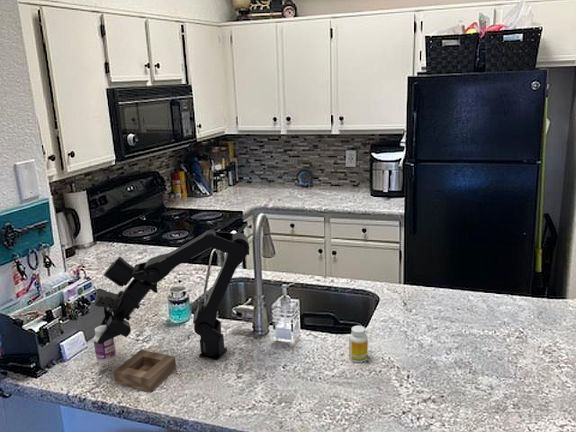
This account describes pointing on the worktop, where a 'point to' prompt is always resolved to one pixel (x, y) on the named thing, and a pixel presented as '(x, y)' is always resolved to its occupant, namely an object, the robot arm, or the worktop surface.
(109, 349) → the pill bottle
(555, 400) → the worktop surface
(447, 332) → the worktop surface
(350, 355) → the supplement bottle
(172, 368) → the socket block
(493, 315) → the worktop surface
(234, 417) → the worktop surface
